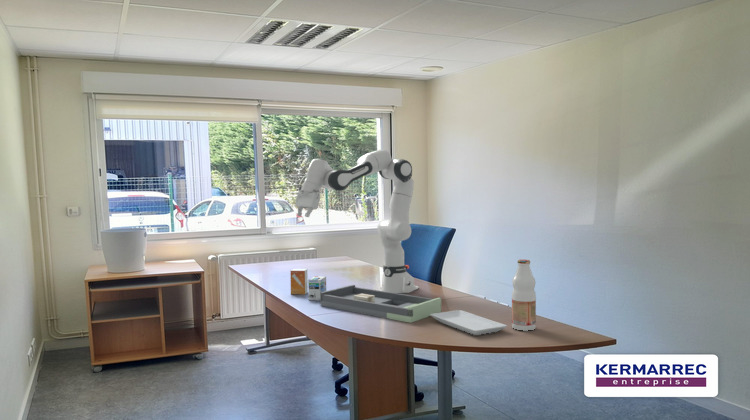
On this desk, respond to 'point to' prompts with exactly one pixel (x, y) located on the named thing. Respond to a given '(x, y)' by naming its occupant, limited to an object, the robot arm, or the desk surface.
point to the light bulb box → (316, 287)
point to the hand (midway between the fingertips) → (302, 216)
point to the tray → (468, 322)
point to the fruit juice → (523, 298)
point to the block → (365, 297)
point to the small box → (299, 281)
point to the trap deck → (381, 303)
